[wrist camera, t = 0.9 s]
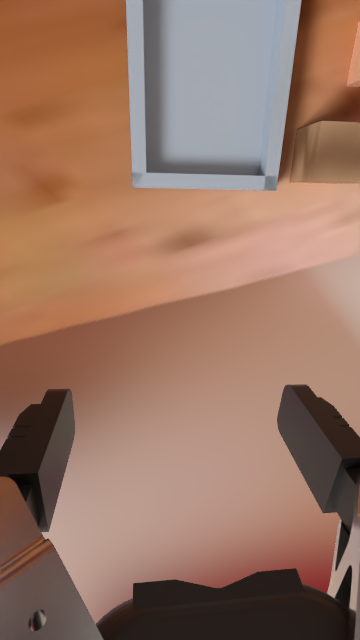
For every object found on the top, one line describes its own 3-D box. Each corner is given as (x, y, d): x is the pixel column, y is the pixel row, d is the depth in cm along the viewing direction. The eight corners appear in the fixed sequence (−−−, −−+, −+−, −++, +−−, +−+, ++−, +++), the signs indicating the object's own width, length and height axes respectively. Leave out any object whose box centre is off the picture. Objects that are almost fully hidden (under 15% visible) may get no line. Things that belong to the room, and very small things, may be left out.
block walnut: (296, 129, 29) (321, 120, 25) (342, 131, 30) (373, 122, 26) (289, 182, 31) (311, 182, 27) (332, 183, 31) (360, 183, 27)
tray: (125, -47, 23) (123, -72, 21) (293, -31, 25) (308, -53, 22) (133, 187, 30) (132, 187, 27) (266, 190, 31) (276, 190, 29)
